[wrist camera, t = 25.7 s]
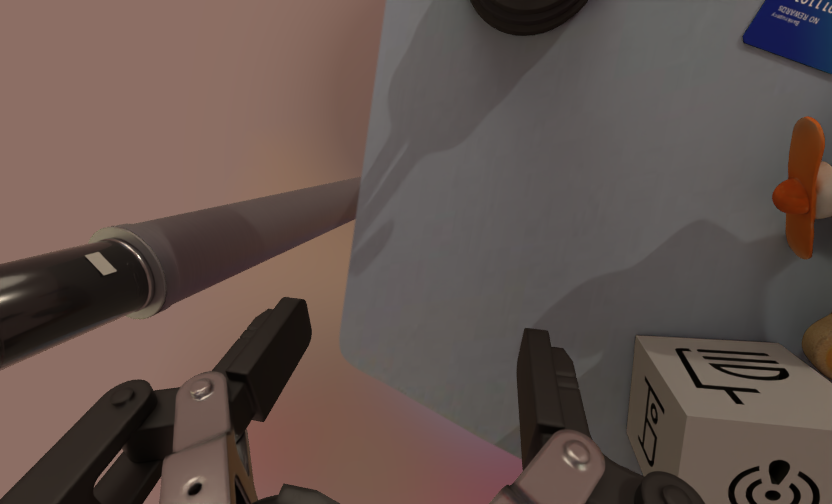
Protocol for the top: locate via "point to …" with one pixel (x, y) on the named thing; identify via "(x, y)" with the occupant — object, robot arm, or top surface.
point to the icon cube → (732, 420)
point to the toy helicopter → (808, 219)
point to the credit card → (795, 31)
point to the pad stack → (526, 14)
